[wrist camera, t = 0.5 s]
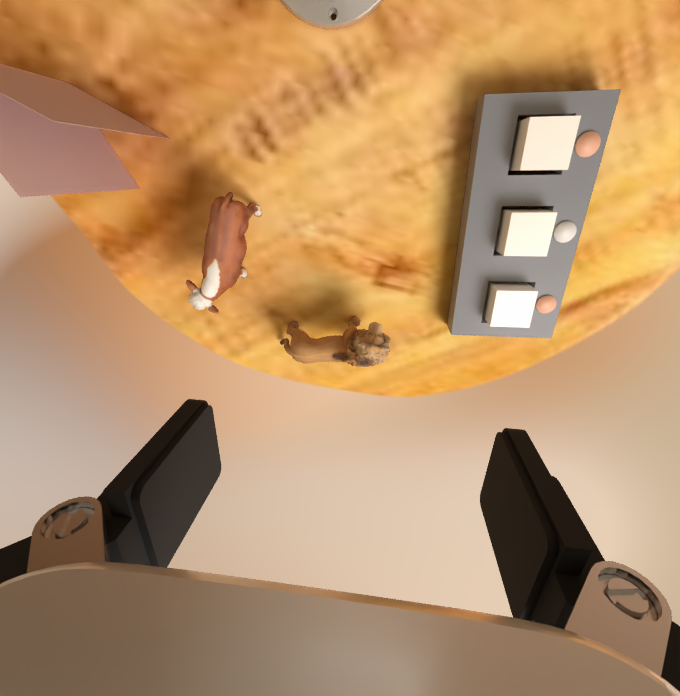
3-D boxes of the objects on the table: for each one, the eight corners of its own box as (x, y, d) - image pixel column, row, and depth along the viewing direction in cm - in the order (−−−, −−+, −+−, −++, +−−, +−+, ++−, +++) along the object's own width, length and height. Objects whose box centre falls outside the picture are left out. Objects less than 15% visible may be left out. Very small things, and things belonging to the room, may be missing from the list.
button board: (477, 100, 34) (485, 93, 31) (601, 96, 32) (622, 88, 30) (447, 324, 44) (451, 335, 41) (541, 327, 43) (552, 339, 40)
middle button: (501, 209, 36) (511, 212, 33) (542, 208, 36) (557, 212, 32) (493, 249, 38) (503, 255, 35) (533, 249, 37) (546, 256, 34)
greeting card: (61, 87, 37) (-120, 40, 24) (110, 42, 35) (-61, -38, 22) (134, 192, 41) (13, 202, 28) (182, 158, 39) (75, 151, 25)
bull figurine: (208, 289, 45) (174, 311, 38) (237, 183, 39) (203, 186, 32) (240, 303, 46) (212, 328, 39) (273, 201, 40) (248, 208, 32)
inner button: (516, 122, 33) (530, 116, 30) (562, 120, 32) (581, 115, 29) (507, 170, 34) (519, 170, 31) (551, 169, 34) (567, 169, 31)
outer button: (488, 281, 39) (497, 290, 36) (526, 281, 39) (538, 291, 36) (482, 314, 41) (490, 326, 38) (518, 315, 41) (529, 327, 38)
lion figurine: (385, 300, 43) (385, 329, 35) (394, 338, 45) (396, 374, 37) (275, 324, 47) (252, 355, 39) (288, 359, 49) (269, 396, 41)
